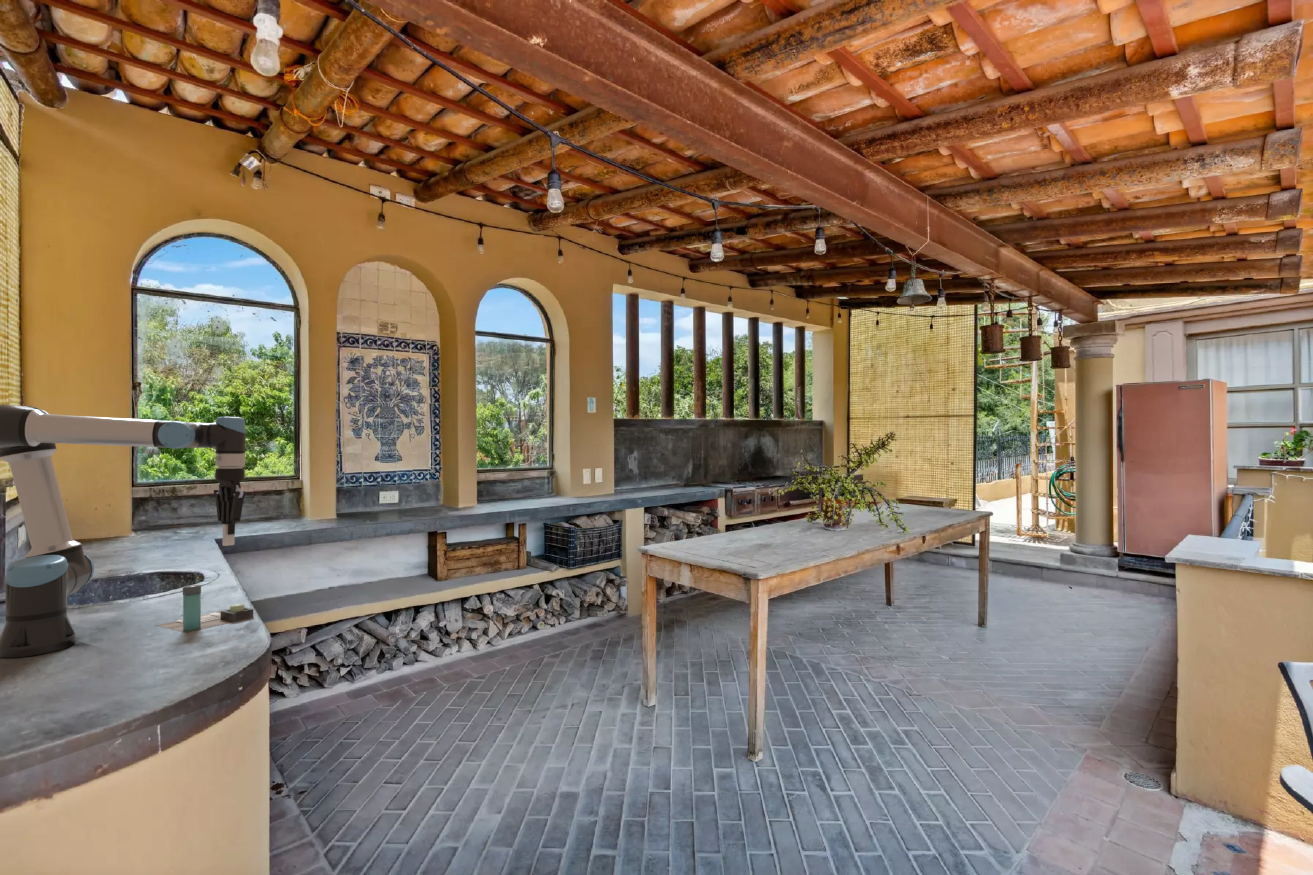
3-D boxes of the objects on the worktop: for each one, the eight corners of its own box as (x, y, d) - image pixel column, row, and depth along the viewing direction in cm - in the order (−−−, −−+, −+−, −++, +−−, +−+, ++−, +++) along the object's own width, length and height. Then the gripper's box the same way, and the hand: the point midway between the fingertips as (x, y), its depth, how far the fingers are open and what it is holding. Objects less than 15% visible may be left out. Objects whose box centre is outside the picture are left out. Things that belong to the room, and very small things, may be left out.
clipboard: (156, 629, 186) (156, 616, 186) (222, 614, 202) (222, 602, 202) (187, 637, 179) (187, 624, 179) (253, 620, 195) (253, 608, 195)
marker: (179, 631, 180) (179, 588, 180) (186, 627, 184) (186, 585, 184) (197, 630, 181) (197, 587, 181) (203, 626, 185) (203, 584, 185)
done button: (227, 615, 193) (227, 606, 193) (239, 612, 196) (239, 603, 196) (234, 616, 191) (234, 607, 191) (246, 614, 194) (246, 604, 194)
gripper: (204, 467, 198) (203, 544, 197) (229, 468, 192) (227, 548, 191) (230, 466, 204) (229, 541, 204) (255, 467, 198) (253, 545, 198)
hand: (228, 545), depth 198 cm, fingers closed
